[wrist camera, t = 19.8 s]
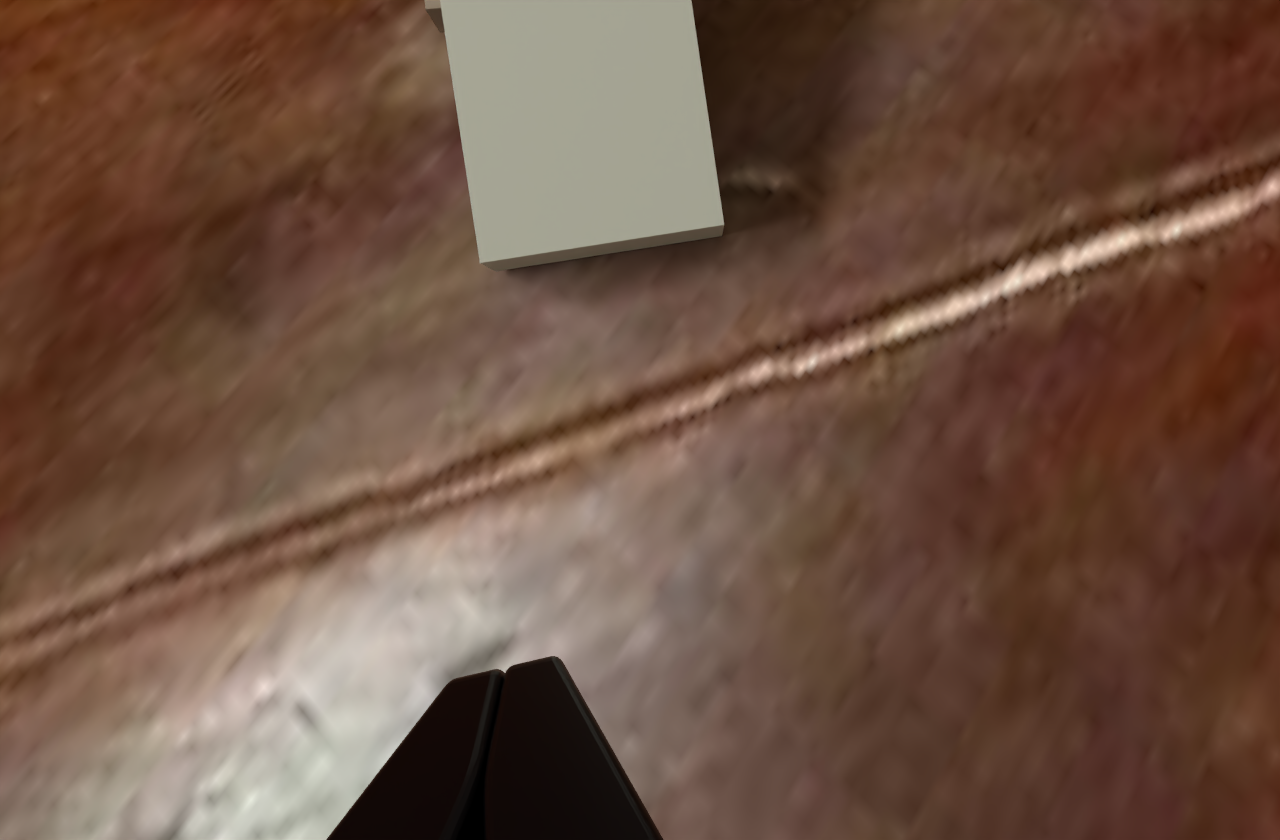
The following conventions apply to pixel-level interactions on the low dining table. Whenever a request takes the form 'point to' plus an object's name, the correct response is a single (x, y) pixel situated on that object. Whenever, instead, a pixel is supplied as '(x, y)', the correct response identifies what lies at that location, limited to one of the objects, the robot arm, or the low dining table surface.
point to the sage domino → (581, 127)
